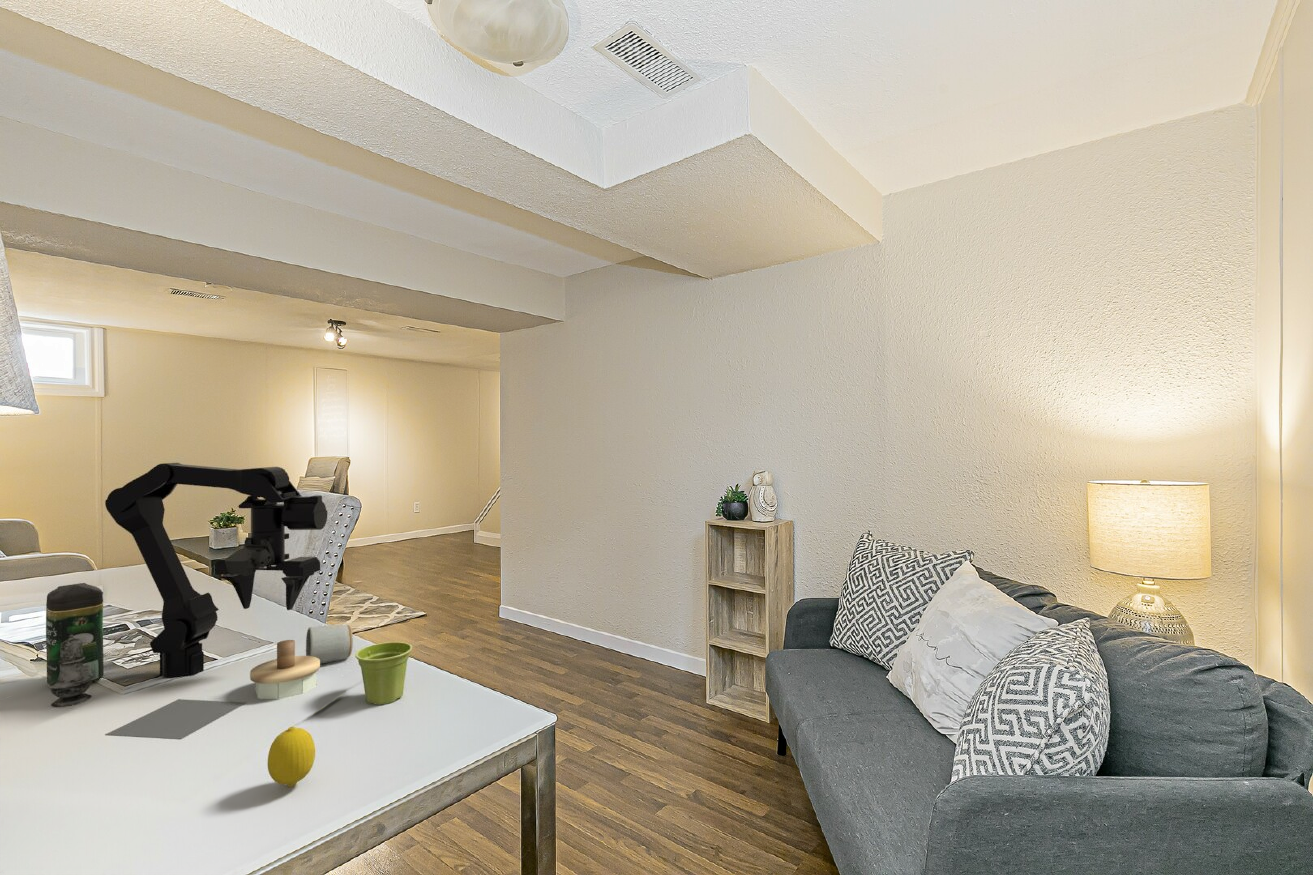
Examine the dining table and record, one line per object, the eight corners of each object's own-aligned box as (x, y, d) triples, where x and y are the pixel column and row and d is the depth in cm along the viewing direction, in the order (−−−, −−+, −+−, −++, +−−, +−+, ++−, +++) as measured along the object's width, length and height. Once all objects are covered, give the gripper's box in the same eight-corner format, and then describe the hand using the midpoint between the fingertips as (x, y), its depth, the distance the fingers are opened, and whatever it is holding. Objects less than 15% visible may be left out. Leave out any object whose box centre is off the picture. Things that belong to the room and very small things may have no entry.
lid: (234, 682, 108) (234, 651, 108) (279, 659, 119) (279, 631, 119) (293, 684, 107) (293, 653, 107) (332, 661, 118) (332, 633, 118)
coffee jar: (42, 681, 119) (42, 585, 119) (97, 669, 125) (97, 578, 125) (50, 694, 113) (50, 593, 113) (107, 681, 119) (107, 585, 119)
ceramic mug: (354, 661, 129) (354, 625, 129) (310, 670, 124) (309, 632, 124) (344, 648, 138) (344, 614, 138) (302, 656, 133) (302, 620, 133)
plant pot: (356, 713, 105) (356, 662, 105) (354, 693, 113) (354, 646, 113) (415, 702, 109) (414, 653, 109) (409, 684, 117) (409, 638, 117)
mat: (104, 740, 95) (104, 734, 95) (178, 704, 108) (178, 699, 108) (181, 745, 94) (181, 738, 94) (246, 708, 107) (246, 702, 107)
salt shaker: (101, 696, 112) (101, 630, 112) (61, 710, 106) (61, 640, 106) (80, 692, 114) (80, 627, 114) (40, 705, 108) (40, 637, 108)
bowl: (243, 702, 109) (243, 680, 109) (281, 682, 118) (280, 661, 118) (292, 705, 108) (292, 682, 108) (325, 684, 117) (325, 663, 117)
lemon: (281, 776, 86) (280, 718, 86) (322, 774, 86) (322, 716, 86) (258, 799, 80) (258, 737, 80) (303, 797, 80) (303, 735, 80)
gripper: (190, 536, 115) (190, 619, 115) (282, 537, 113) (282, 622, 113) (236, 527, 126) (236, 603, 126) (321, 528, 124) (322, 606, 124)
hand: (268, 609), depth 122 cm, fingers open, 9 cm apart
